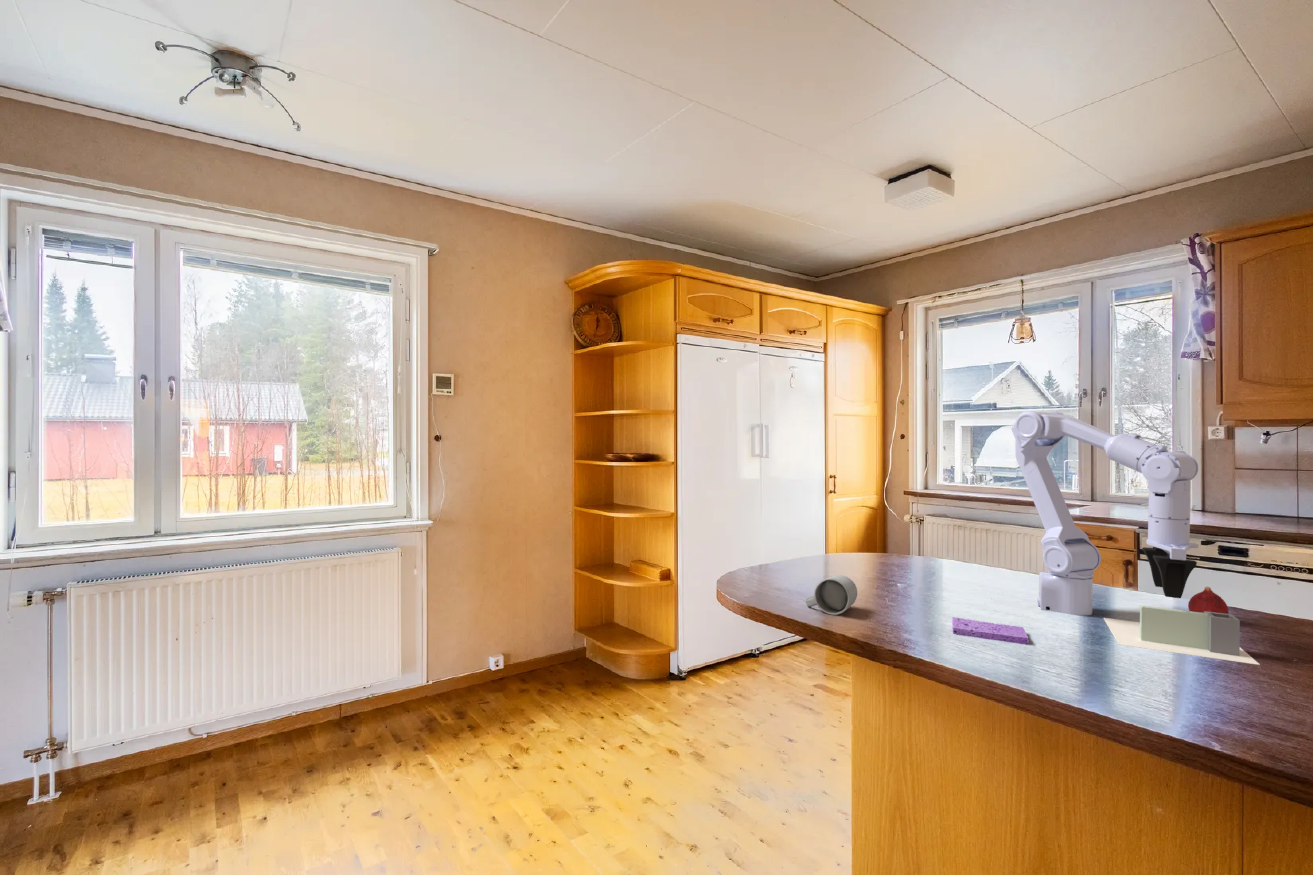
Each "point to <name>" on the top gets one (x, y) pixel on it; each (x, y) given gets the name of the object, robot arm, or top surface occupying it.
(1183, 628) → the door leaf
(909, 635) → the top surface
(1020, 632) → the sponges
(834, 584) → the ceramic mug
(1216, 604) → the onion
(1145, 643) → the board
